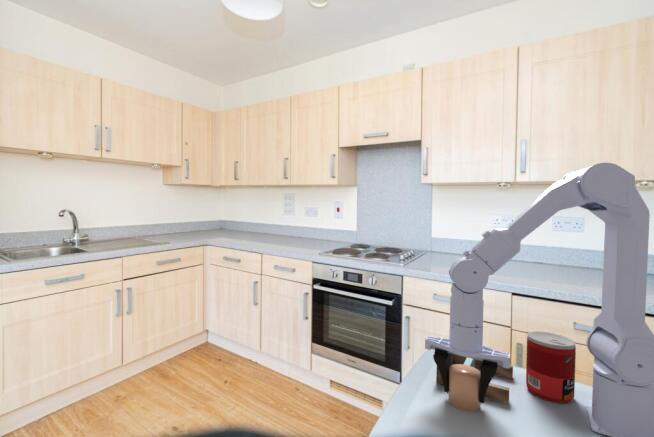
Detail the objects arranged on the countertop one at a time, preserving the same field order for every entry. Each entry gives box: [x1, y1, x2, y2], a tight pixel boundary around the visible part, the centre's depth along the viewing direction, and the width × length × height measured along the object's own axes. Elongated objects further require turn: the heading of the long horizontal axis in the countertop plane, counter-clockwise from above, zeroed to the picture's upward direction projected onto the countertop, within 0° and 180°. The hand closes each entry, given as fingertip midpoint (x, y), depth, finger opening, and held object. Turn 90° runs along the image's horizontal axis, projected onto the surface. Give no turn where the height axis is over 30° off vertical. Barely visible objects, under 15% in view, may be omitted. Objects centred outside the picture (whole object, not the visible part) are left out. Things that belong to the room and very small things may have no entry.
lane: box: [435, 354, 514, 405], centre depth 69 cm, size 13×12×4 cm
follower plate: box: [463, 357, 475, 368], centre depth 70 cm, size 1×9×4 cm, turn 147°
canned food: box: [525, 331, 577, 404], centre depth 65 cm, size 8×8×11 cm
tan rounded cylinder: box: [448, 364, 482, 413], centre depth 61 cm, size 6×6×6 cm
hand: (464, 395), depth 61 cm, fingers closed on tan rounded cylinder, 5 cm apart
